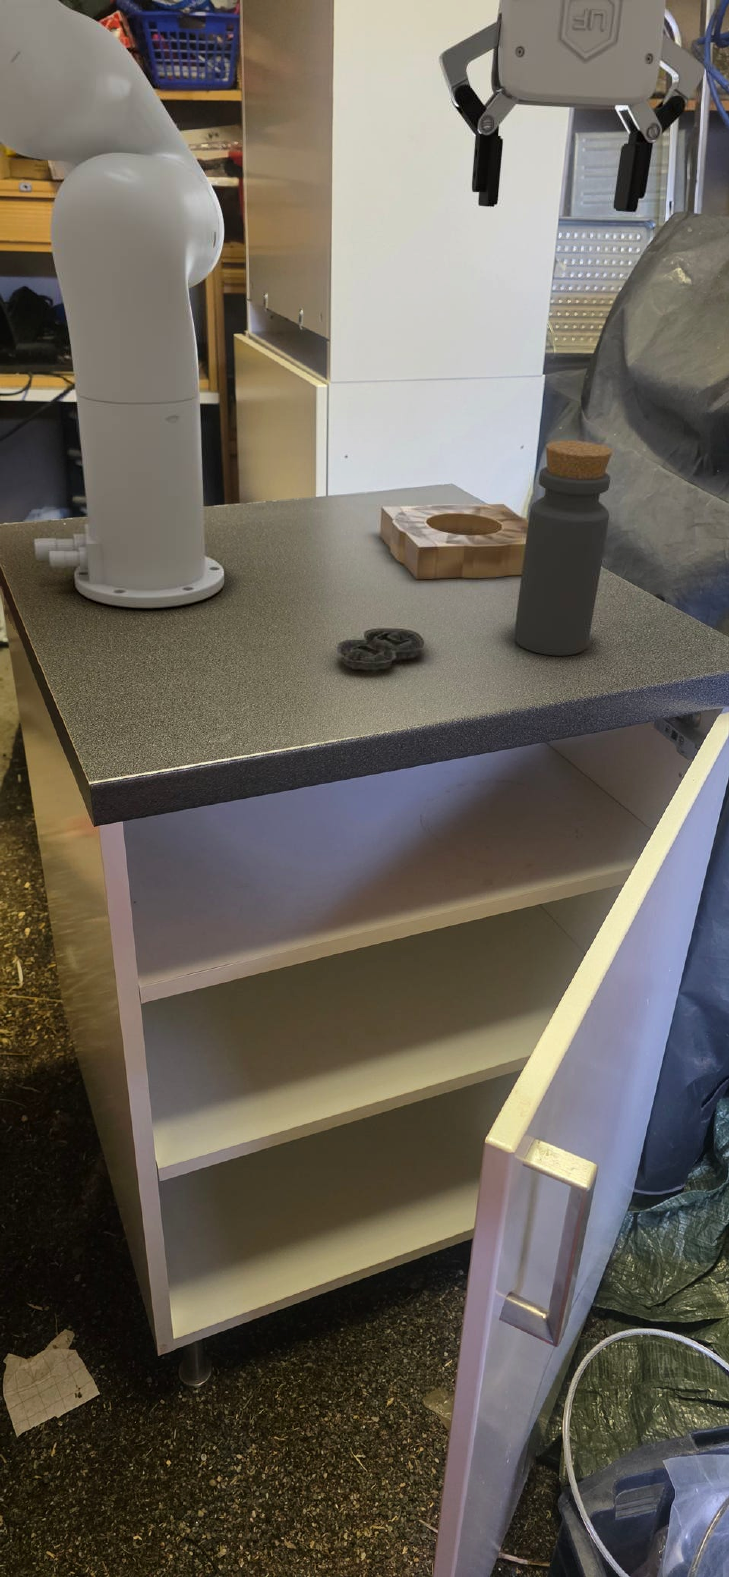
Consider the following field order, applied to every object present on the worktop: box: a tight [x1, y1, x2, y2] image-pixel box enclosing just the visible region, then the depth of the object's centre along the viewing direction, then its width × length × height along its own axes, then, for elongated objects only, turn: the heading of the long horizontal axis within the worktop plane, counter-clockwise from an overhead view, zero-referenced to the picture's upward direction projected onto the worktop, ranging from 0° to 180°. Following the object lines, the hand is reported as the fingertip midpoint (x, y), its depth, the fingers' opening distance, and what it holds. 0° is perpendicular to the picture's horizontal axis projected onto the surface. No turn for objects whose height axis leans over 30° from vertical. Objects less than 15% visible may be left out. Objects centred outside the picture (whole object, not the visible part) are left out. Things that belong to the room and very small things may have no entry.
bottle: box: [513, 440, 613, 657], centre depth 78 cm, size 6×6×15 cm
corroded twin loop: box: [336, 627, 425, 670], centre depth 77 cm, size 5×8×1 cm, turn 141°
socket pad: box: [379, 503, 529, 580], centre depth 99 cm, size 14×14×3 cm
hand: (556, 208), depth 70 cm, fingers open, 9 cm apart
